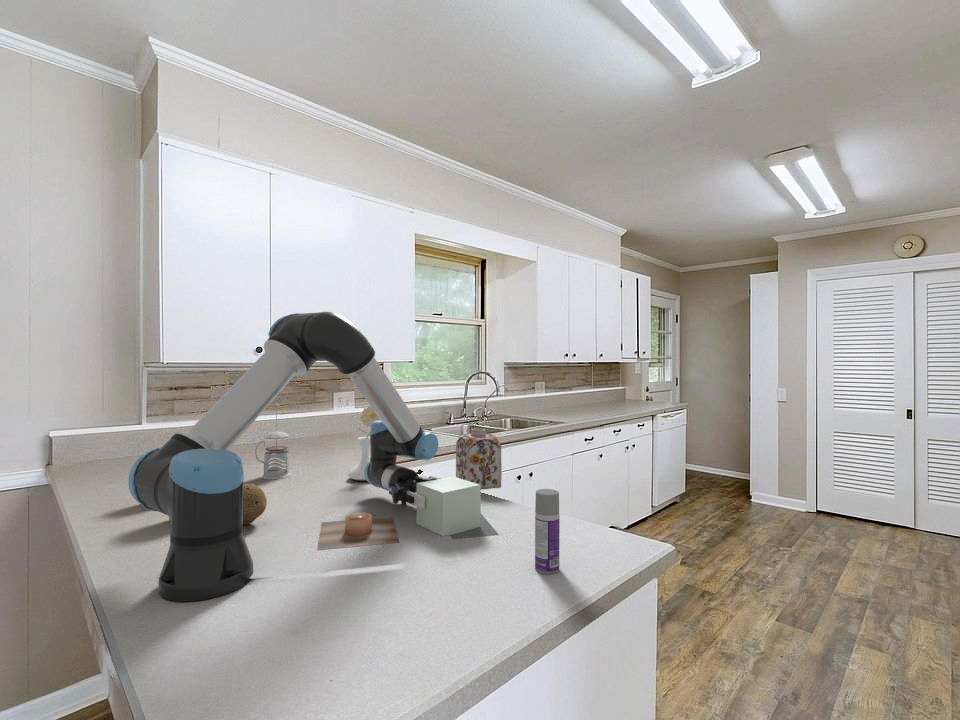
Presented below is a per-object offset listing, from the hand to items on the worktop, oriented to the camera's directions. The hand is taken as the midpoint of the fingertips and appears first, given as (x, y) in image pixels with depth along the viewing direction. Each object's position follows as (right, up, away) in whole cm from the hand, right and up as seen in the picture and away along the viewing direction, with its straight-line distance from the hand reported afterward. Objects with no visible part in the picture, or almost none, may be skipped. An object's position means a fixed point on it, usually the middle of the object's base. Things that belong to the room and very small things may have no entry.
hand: (446, 497), depth 122 cm
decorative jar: (+7, -7, +39) cm, 40 cm away
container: (+21, -7, -25) cm, 33 cm away
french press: (-63, -7, +51) cm, 81 cm away
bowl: (-20, -6, -7) cm, 22 cm away
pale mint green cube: (0, -6, -1) cm, 7 cm away
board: (-20, -7, -7) cm, 22 cm away
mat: (0, -7, -1) cm, 7 cm away
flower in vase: (-30, -7, +47) cm, 56 cm away
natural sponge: (-49, -7, 0) cm, 49 cm away
